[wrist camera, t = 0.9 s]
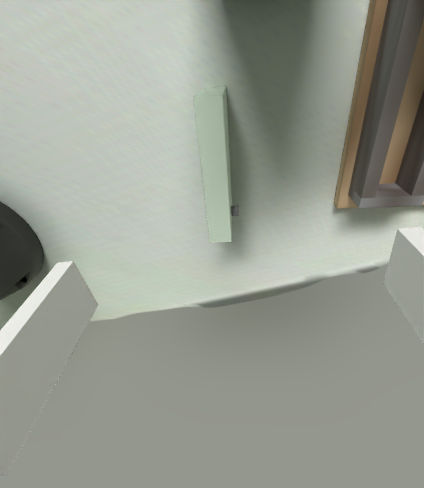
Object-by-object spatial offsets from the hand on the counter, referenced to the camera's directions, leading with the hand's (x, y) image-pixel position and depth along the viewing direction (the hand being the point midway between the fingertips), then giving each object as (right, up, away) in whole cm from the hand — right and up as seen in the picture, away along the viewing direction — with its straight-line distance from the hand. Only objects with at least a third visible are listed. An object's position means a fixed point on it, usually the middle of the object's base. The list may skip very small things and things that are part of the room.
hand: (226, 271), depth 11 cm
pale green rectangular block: (0, +10, +16) cm, 19 cm away
